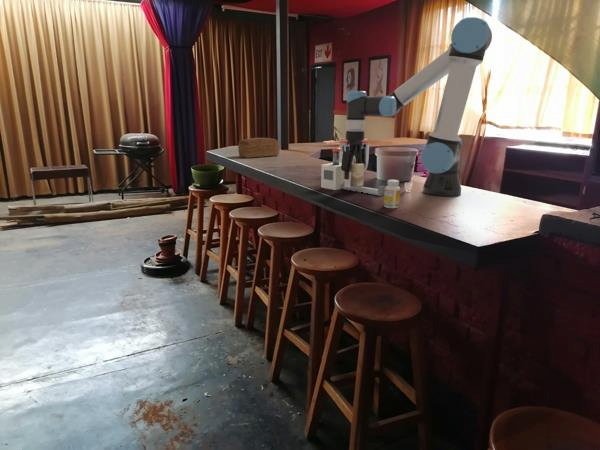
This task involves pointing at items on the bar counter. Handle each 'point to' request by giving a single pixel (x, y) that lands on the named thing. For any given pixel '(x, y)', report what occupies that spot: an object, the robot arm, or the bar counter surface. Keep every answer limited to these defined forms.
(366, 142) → the citrus juicer
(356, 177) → the carriage
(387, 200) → the supplement bottle
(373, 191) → the rail
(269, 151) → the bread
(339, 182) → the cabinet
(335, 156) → the gauge button
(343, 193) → the bar counter surface
